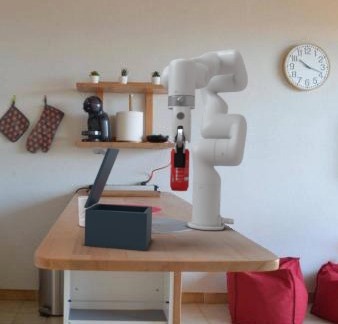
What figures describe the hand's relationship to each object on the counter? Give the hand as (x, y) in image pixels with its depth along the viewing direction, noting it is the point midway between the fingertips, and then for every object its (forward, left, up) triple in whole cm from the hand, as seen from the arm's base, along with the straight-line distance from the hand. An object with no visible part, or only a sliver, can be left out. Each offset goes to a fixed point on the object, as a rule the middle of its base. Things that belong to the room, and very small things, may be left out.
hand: (179, 166), depth 111 cm
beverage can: (0, 0, -7) cm, 7 cm away
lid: (+21, +4, -4) cm, 22 cm away
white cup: (+31, -18, -23) cm, 43 cm away
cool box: (+16, +4, -22) cm, 28 cm away
